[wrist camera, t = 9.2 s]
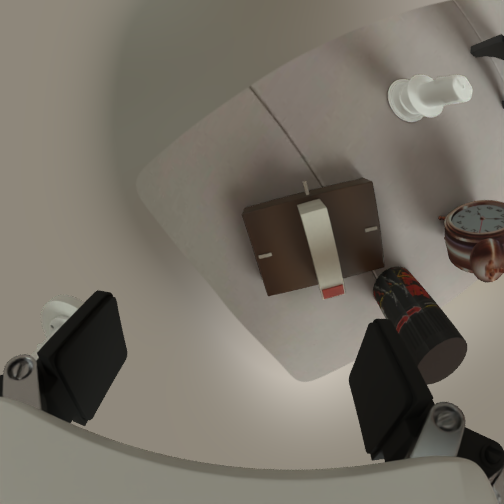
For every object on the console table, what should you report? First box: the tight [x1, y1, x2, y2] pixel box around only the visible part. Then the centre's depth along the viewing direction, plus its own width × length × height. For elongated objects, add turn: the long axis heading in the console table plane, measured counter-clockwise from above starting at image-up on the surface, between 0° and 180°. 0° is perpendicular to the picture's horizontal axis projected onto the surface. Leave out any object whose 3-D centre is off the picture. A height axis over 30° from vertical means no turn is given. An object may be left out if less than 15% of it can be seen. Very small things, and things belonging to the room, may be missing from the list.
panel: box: [242, 178, 384, 296], centre depth 30 cm, size 14×13×3 cm
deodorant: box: [373, 267, 467, 384], centre depth 27 cm, size 6×6×15 cm
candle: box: [388, 74, 473, 122], centre depth 19 cm, size 5×5×12 cm
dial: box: [297, 199, 346, 300], centre depth 27 cm, size 9×2×4 cm, turn 18°
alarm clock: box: [439, 200, 504, 282], centre depth 22 cm, size 11×5×15 cm, turn 114°
